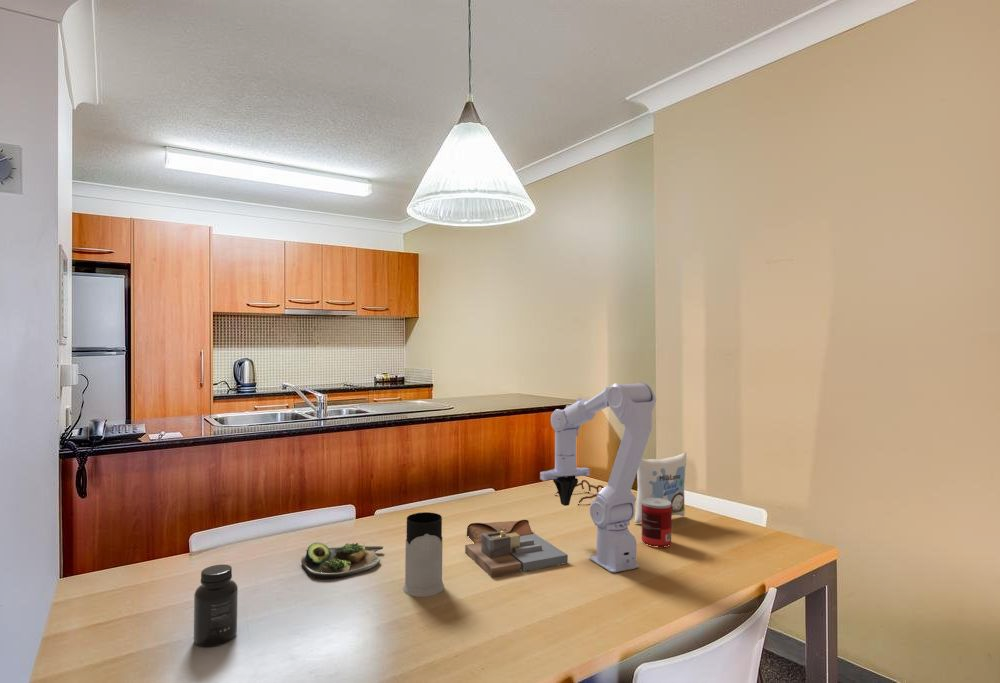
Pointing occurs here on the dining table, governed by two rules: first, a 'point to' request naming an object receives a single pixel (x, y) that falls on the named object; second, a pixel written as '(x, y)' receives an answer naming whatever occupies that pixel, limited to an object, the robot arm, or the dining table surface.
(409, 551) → the glass holder
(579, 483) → the glasses
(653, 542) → the canned food
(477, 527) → the sunglasses case
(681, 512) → the pouch
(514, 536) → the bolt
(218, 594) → the supplement bottle
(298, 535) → the dining table surface
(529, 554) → the door leaf
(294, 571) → the dining table surface
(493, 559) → the panel
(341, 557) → the salad plate
